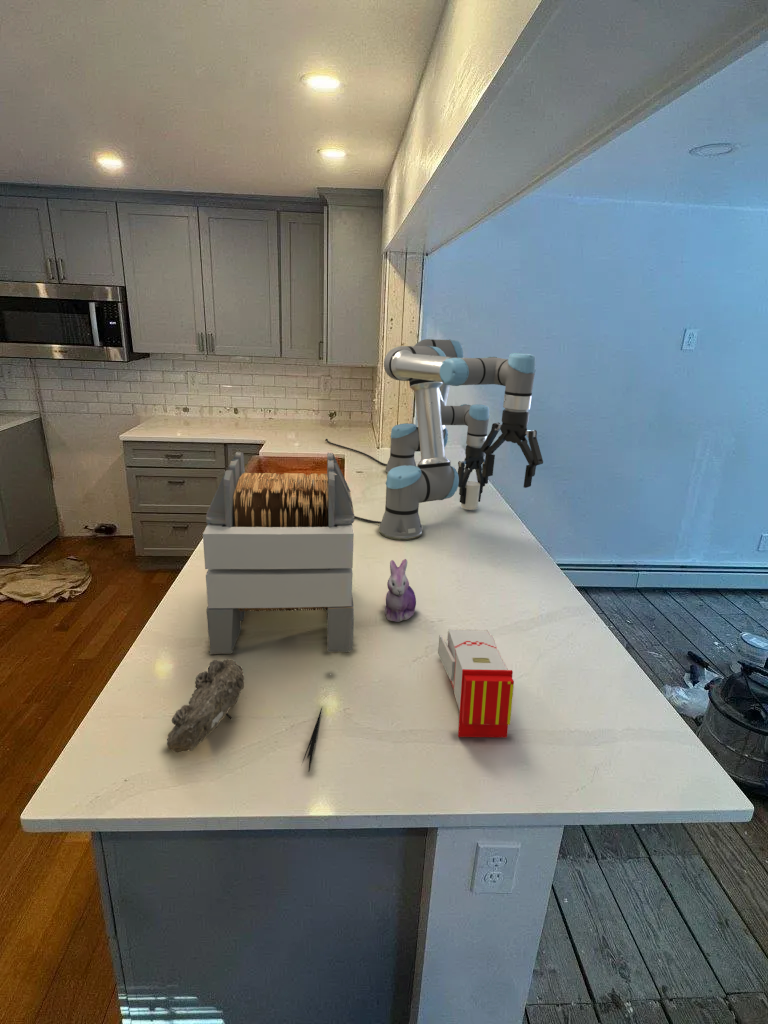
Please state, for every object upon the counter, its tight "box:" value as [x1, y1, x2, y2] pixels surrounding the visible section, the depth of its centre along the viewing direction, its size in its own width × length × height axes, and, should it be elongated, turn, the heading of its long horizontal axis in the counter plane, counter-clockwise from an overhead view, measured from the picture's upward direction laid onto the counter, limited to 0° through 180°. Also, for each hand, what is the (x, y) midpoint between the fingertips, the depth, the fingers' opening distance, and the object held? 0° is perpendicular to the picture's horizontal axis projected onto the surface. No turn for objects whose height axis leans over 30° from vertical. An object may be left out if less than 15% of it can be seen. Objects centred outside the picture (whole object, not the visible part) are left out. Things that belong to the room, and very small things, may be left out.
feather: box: [301, 673, 332, 771], centre depth 108 cm, size 2×28×2 cm
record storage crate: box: [202, 451, 355, 655], centre depth 137 cm, size 34×33×41 cm
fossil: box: [166, 658, 245, 754], centre depth 106 cm, size 22×10×15 cm
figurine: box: [384, 558, 417, 623], centre depth 145 cm, size 9×10×15 cm
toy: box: [437, 628, 515, 738], centre depth 117 cm, size 12×13×30 cm
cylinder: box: [460, 480, 480, 511], centre depth 225 cm, size 7×7×10 cm
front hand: (507, 481), depth 169 cm, fingers open, 13 cm apart
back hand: (469, 501), depth 226 cm, fingers closed on cylinder, 7 cm apart
